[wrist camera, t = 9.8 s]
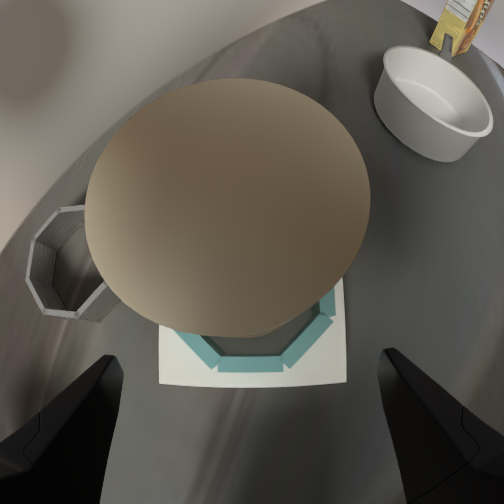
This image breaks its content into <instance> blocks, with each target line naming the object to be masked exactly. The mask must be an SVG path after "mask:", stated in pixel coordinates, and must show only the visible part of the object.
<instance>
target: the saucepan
mask: <svg viewBox="0 0 504 504" xmlns="http://www.w3.org/2000/svg"><path fill="white" fill-rule="evenodd" d="M452 46H453V37H452V36H451V35H449V34H447V33H445V34H444V39H443V44H442V49H441V51H440V53H439V55H436V54H434V53H432V52H430V51H427V50H424V49H421V48H418V47H413V46H404V45H400V46H394V47H392V48H389V49H388V50H387V51H386V52H385V54H384V57H383V62H384V69H383V72H382V74H381V77H380V80H379V82H378V85H377V87H376V90H375V93H374V104H375V108H376V111H377V113H378V115H379V117H380V119H381V120H382V121H383V123H384V124H385V126H386V127H387V128H388V129H389V130H390V131H391V133H392V134H393V135H394V136H395V137H396V138H398V139H399V140H400V141H401V142H402V143H403V144H405V145H406V146H407V147H409V148H410V149H412V150H413V151H415V152H417V153H419V154H420V155H422V156H424V157H427V158H429V159H432V160H435V161H440V162H453V161H456V160H458V159H460V158H461V157H463V155H464V154H465V153H466V152H467V151H468V150H469V149H470V148H471V147H472V146H473V144H474V143H475V142H476V141H477V140H478V139H479V138H480V137H482V136H486V135H487V134H489V133H490V132H491V130H492V128H493V115H492V112H491V109H490V106H489V104H488V102H487V100H486V99H485V97H484V95H483V94H482V93H481V91H480V90H479V88H478V87H477V86H476V85H475V84H474V83H473V81H472V80H471V79H470V78H469V77H468V76H467V75H466V74H464V73H463V72H462V71H461V70H460V69H458V68H457V67H456V66H455V65H453V64H452V63H451V60H452Z"/></svg>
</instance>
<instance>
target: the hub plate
mask: <svg viewBox="0 0 504 504" xmlns="http://www.w3.org/2000/svg"><path fill="white" fill-rule="evenodd" d="M342 382H346V333H345V310H344V293H343V279H342V278H341V279H340V280H339V281H338V283H337V284H336V285H335V286H334V287H333V288H332V289H331V290H330V291H329V292H328V293H327V294H326V295H325V296H323V297H322V298H321V299H320V300H319V301H318V302H316V303H315V304H314V305H313V306H311V307H310V308H308V309H307V310H305V311H304V312H302V313H301V314H299V315H298V316H296V317H295V318H293V319H292V320H290V321H289V322H287V323H286V324H284V325H283V326H281V327H280V328H278V329H277V330H275V331H273V332H272V333H270V334H268V335H265V336H262V337H257V338H238V337H218V336H203V335H197V334H191V333H185V332H180V331H177V330H174V329H171V328H168V327H164V326H161V325H159V383H160V384H171V385H184V386H201V387H231V388H262V387H292V386H308V385H322V384H333V383H342Z"/></svg>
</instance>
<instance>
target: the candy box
mask: <svg viewBox="0 0 504 504" xmlns="http://www.w3.org/2000/svg"><path fill="white" fill-rule="evenodd" d="M493 2H494V0H448V1H447V3H446V6H445V8H444V10H443V13H442V15H441V17H440V19H439V21H438V24H437V26H436V28H435V31H434V33H433V35H432V37H431V39H430V41H429V43H430V44H431V45H433V46H434V47H436V48H437V49H438V50H440V51H441V49H442V44H443V39H444V34H445V33H447V34H449V35H451V36H452V37H453V46H452V57H453V56H455V55H458V54H461V53H463V52H466V51H467V50H468V49H469V47H470V45H471V43H472V41H473V39H474V38H475V36H476V34H477V32H478V30H479V29H480V27H481V25H482V23H483V21H484V19H485V17H486V16H487V14H488V12H489V10H490V8H491V6H492V4H493Z"/></svg>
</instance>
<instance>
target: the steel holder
mask: <svg viewBox="0 0 504 504" xmlns="http://www.w3.org/2000/svg"><path fill="white" fill-rule="evenodd" d="M84 211H85V205H78V206H69V207H61V208H60V207H59V208H58V209H57V210H56V211H55V212H54V213H53V214H52V216H51V217H50V218H49V219H48V220H47V221H46V222H45V224H44V225H43V226H42V227H41V228H40V230H39V231H38V232H37V233H36V234H35V236H34V237H32V242H31V248H30V254H29V260H28V266H27V274H26V279H25V280H26V282H27V284H28V286H29V288H30V290H31V292H32V294H33V296H34V298H35V300H36V302H37V304H38V306H39V308H40V309H41V311H42V314H43V315H45V316H51V317H56V318H62V319H75V320H84V321H91V322H98V323H100V322H101V321H102V320H103V318H104V317H105V316H106V315H107V314H108V313H109V312H110V311H111V310H112V309H113V308H114V307H115V306H116V305H117V304H118V303H119V302H120V300H121V299H120V298H119V297H118V296H117V295H116V294H115V293H114V292H113V291H112V290H111V289H110V287H109V286H108V284H107V283H106V282H105V280H104V282H103V283H102V284H101V285H100V286H99V287H98V288H97V289H96V290H95V291H94V292H93V294H92V295H91V296H90V297H89V298H88V299H87V300H86V301H85V302H84V304H83V305H82V306H81V307H80V308H79V309H78V310H77V311H76V312H73V311H67V310H66V309H65V307H64V305H63V304H62V302H61V300H60V299H59V297H58V295H57V294H56V292H55V290H54V289H53V287H52V284H53V275H54V267H55V260H56V253H57V251H58V250H59V248H60V247H61V246H62V245H63V244H64V243H65V242H66V241H67V239H68V238H69V237H70V236H71V235H72V234H73V233H74V232H75V231H76V229H77V228H78V227H85V213H84Z"/></svg>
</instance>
